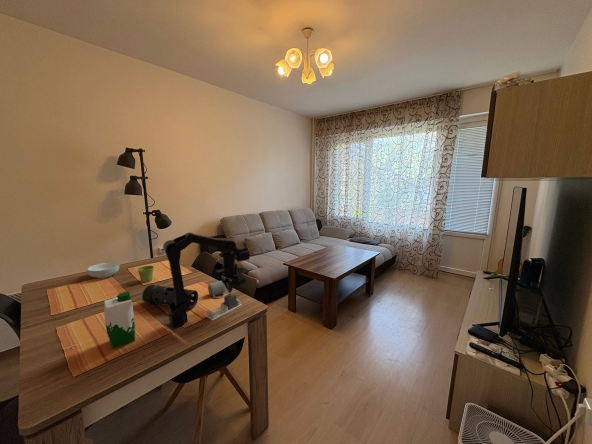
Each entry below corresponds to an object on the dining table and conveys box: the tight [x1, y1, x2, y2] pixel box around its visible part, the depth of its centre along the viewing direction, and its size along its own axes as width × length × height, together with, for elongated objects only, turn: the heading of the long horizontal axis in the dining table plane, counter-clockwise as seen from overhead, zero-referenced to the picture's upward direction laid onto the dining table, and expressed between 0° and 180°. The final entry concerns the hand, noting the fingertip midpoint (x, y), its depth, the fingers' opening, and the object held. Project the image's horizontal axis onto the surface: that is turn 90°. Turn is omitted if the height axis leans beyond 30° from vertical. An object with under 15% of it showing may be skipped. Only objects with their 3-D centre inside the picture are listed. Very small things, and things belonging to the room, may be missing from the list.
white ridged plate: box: [205, 298, 243, 321], centre depth 118 cm, size 18×7×3 cm, turn 144°
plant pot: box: [136, 265, 155, 283], centre depth 151 cm, size 9×9×9 cm
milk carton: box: [103, 291, 136, 350], centre depth 94 cm, size 9×9×20 cm
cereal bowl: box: [86, 261, 120, 279], centre depth 157 cm, size 17×17×7 cm
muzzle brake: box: [140, 284, 199, 310], centre depth 121 cm, size 10×28×10 cm, turn 78°
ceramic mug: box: [207, 280, 226, 299], centre depth 133 cm, size 11×8×8 cm
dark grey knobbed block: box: [223, 292, 237, 310], centre depth 120 cm, size 4×4×7 cm
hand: (230, 292), depth 120 cm, fingers closed
